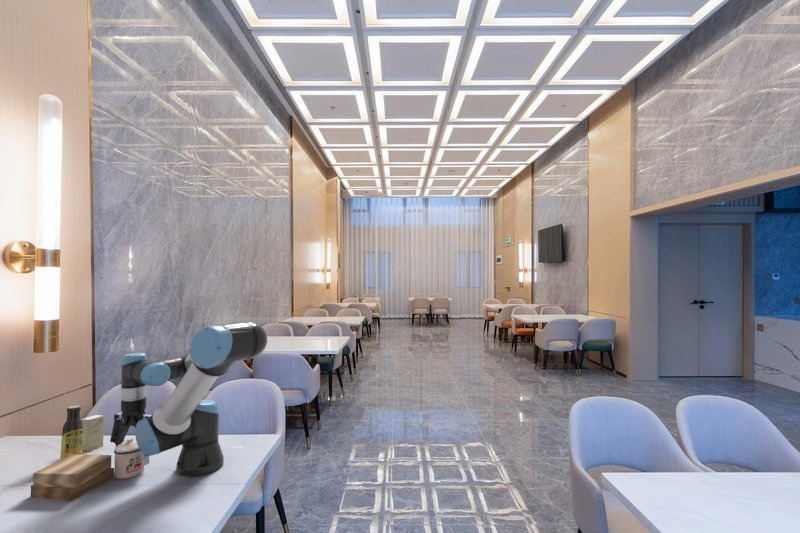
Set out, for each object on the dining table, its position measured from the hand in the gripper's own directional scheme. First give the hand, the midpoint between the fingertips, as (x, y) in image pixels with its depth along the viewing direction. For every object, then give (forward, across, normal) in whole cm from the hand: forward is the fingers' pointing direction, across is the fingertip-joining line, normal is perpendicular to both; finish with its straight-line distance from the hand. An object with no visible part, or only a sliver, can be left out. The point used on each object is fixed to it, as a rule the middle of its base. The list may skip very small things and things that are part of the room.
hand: (133, 463), depth 146 cm
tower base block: (+3, +10, +13) cm, 17 cm away
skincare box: (+3, +33, -15) cm, 36 cm away
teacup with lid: (+3, 0, 0) cm, 3 cm away
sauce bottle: (+3, +29, -3) cm, 29 cm away
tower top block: (-1, +10, +13) cm, 16 cm away
